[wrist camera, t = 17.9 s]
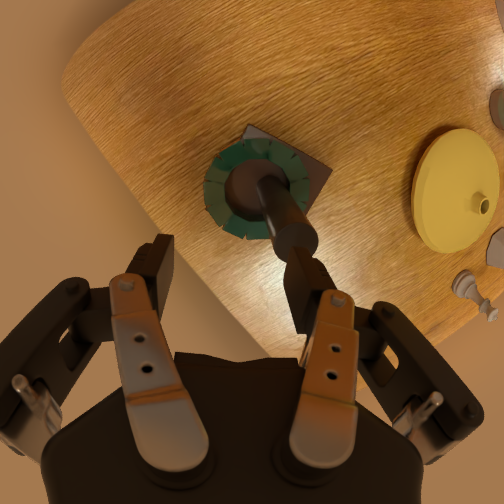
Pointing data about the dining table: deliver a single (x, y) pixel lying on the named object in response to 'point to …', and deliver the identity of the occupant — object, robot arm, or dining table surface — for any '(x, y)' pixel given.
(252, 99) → the dining table surface
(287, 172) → the green segmented ring
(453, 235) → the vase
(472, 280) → the chess piece
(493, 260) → the flask
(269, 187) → the holder
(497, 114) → the coffee cup
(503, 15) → the dish
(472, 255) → the dining table surface
